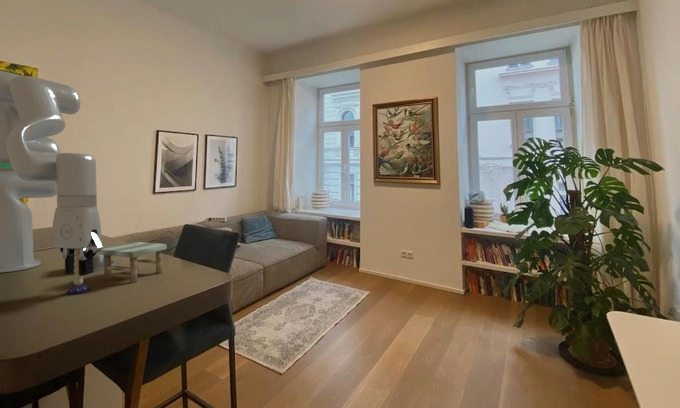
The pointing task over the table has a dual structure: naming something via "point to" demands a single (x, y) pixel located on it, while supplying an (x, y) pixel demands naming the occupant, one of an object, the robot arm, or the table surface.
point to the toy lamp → (77, 277)
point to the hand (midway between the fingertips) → (79, 272)
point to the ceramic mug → (99, 260)
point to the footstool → (132, 257)
